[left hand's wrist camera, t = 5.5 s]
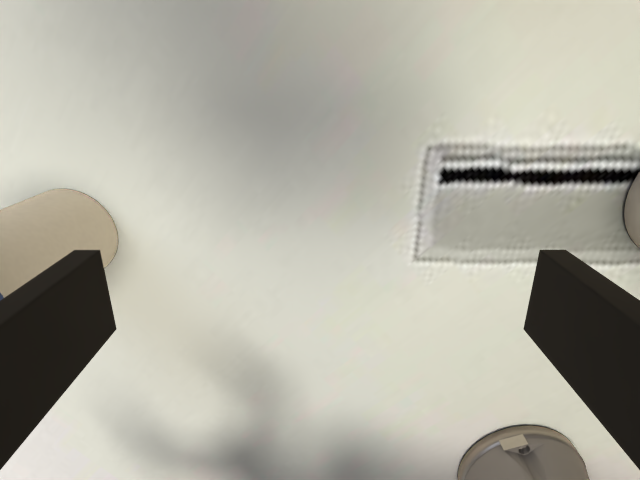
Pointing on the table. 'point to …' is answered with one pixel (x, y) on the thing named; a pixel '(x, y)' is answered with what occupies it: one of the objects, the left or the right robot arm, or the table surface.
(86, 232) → the jar
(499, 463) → the right robot arm
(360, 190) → the table surface
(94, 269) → the left robot arm
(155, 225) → the table surface
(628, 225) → the bust sculpture
